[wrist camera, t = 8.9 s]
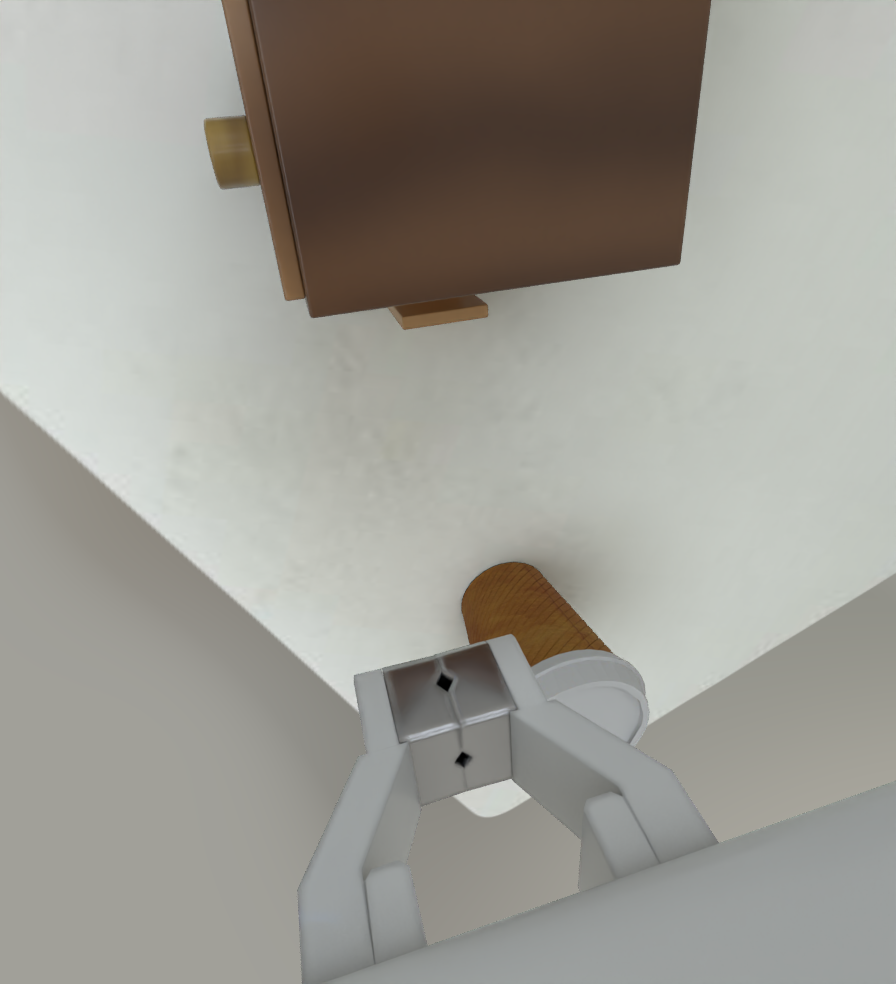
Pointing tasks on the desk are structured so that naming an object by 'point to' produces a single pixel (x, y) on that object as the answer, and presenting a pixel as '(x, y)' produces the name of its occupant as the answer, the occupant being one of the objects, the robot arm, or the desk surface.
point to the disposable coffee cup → (557, 647)
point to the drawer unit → (462, 141)
